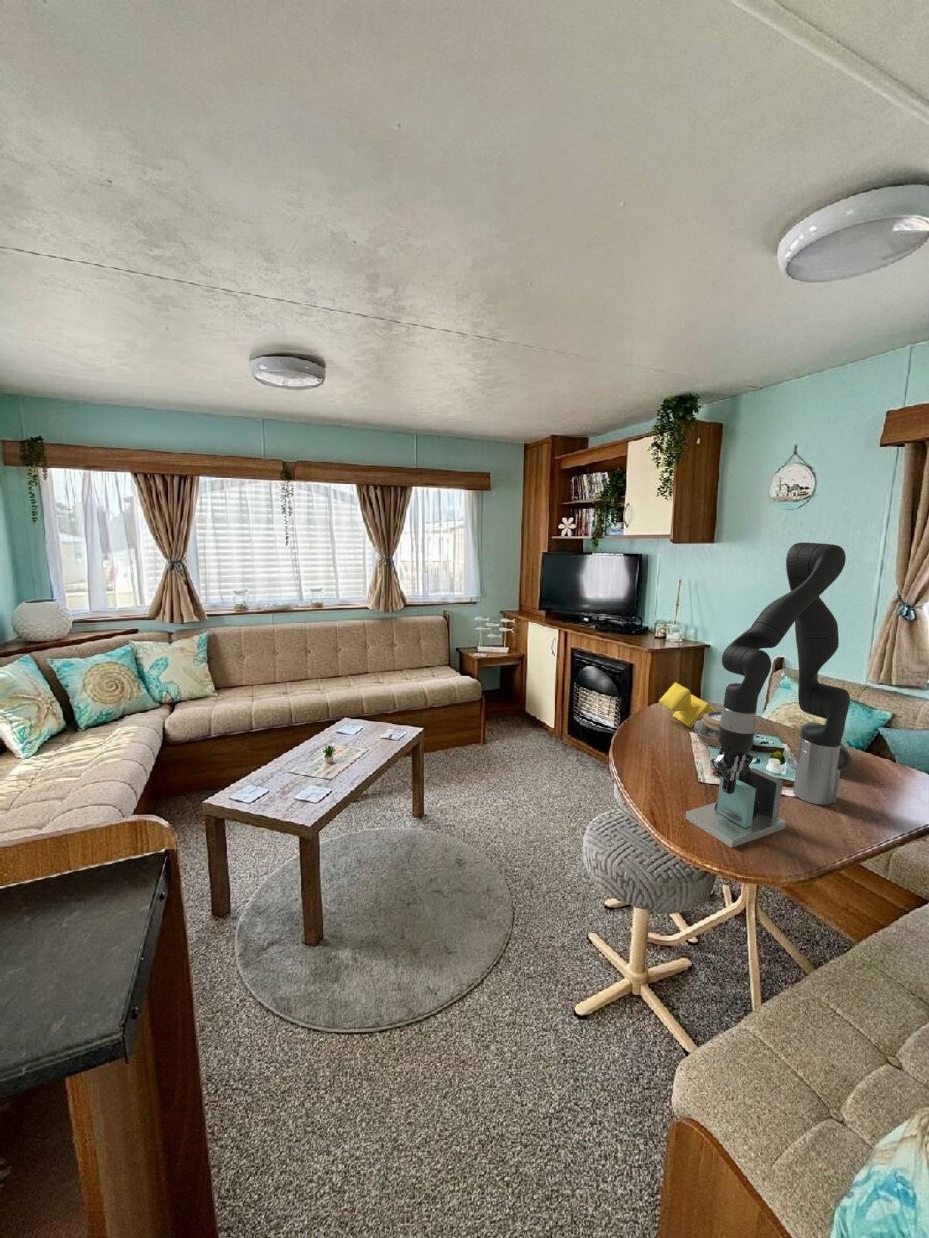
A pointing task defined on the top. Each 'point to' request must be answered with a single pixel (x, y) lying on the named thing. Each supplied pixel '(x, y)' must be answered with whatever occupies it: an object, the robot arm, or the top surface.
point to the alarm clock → (709, 728)
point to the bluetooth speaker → (844, 756)
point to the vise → (761, 823)
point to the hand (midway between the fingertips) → (728, 792)
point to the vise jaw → (737, 803)
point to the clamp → (685, 704)
